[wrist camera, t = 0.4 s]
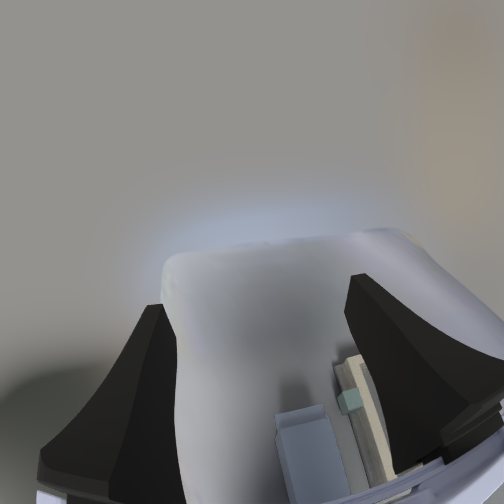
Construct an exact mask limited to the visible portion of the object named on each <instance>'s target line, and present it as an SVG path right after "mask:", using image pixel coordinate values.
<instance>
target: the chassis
mask: <svg viewBox="0 0 504 504" xmlns="http://www.w3.org/2000/svg"><path fill="white" fill-rule="evenodd" d="M333 369H334V372H335V375H336V378H337V381H338V384H339V387H340V390H341V394H340V395H339V396H338V397H337V399H338V402H339V405H340V408H341V412H342V415H346V414H348V415H349V418H350V421H351V424H352V427H353V430H354V434H355V437H356V440H357V443H358V447H359V450H360V453H361V457H362V460H363V463H364V467H365V470H366V474H367V477H368V481H369V484H370V488H373V487H376V486H379V485H381V484H384V483H386V482H389V481H391V480H394V479H396V478H398V477H401V476H403V475H405V474H407V473H409V472H411V471H414V470H416V469H418V468H420V467H422V466H423V463H421V464H419V465H417V466H415V467H413V468H411V469H408V470H406V471H404V472H402V473H400V474H397V475H395V473H394V470H393V467H392V458H391V451H390V444H389V438H388V433H387V429H386V424H385V420H384V416H383V412H382V408H381V404H380V401H379V398H378V394H377V391H376V388H375V385H374V382H373V380H372V377H371V375H370V373H369V371H368V369H367V366H366V364H365V362H364V360H363V358H362V356H361V354H359V355H356V356H352V357H349V358H347V359H346V360H345V362H344V363H343V364H339V365H335V366H334V367H333Z"/></svg>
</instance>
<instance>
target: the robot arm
mask: <svg viewBox="0 0 504 504" xmlns="http://www.w3.org/2000/svg"><path fill="white" fill-rule="evenodd" d="M344 313H345V316H346V320H347V323H348V326H349V329H350V332H351V334H352V336H353V339H354V341H355V343H356V345H357V347H358V349H359V351H360V354H361V356H362V358H363V360H364V362H365V364H366V366H367V369H368V371H369V373H370V375H371V377H372V380H373V382H374V385H375V388H376V391H377V394H378V398H379V401H380V404H381V408H382V412H383V416H384V420H385V424H386V429H387V433H388V438H389V444H390V451H391V458H392V467H393V470H394V473H395V475H397V474H400V473H402V472H404V471H406V470H408V469H411V468H413V467H415V466H417V465H419V464H421V463H423V466H422V467H420V468H418V469H416V470H414V471H411V472H409V473H407V474H405V475H403V476H401V477H398V478H396V479H394V480H391V481H389V482H386V483H384V484H381V485H379V486H376V487H373V488H371V489H368V490H365V491H362V492H359V493H356V494H353V495H350V496H347V497H344V498H340V499H337V500H333V501H330V502H326V503H322V504H374V503H377V502H380V501H382V500H385V499H387V498H390V497H392V496H394V495H397V494H399V493H401V492H403V491H405V490H408V489H410V488H412V487H413V488H412V489H411V492H410V494H407V495H404V496H402V497H399V498H397V499H394V500H392V501H389V502H387V503H385V504H482V503H483V502H484V501H485V500H486V499H487V498H488V497H489V496H490V495H491V494H492V493H493V492H494V491H495V490H496V489H497V488H498V487H499V486H500V485H501V484H502V483H503V482H504V414H503V415H500V413H499V411H500V410H501V409H502V406H501V404H500V401H501V400H502V399H503V398H504V360H501V359H498V358H495V357H492V356H489V355H487V354H484V353H482V352H479V351H477V350H475V349H473V348H471V347H468V346H466V345H465V344H463V343H461V342H459V341H457V340H455V339H453V338H451V337H450V336H448V335H446V334H445V333H443V332H442V331H440V330H438V329H437V328H435V327H434V326H432V325H431V324H429V323H428V322H426V321H425V320H423V319H422V318H421V317H419V316H418V315H417V314H415V313H414V312H413V311H411V310H410V309H409V308H407V307H406V306H405V305H404V304H402V303H401V302H400V301H399V300H397V299H396V298H395V297H394V296H392V295H391V294H390V293H389V292H388V291H386V290H385V289H384V288H383V287H381V286H380V285H379V284H378V283H377V282H375V281H374V280H373V279H372V278H370V277H369V276H368V275H367V274H365V273H364V274H358V275H353V276H351V279H350V285H349V290H348V295H347V300H346V305H345V310H344ZM176 373H177V342H176V336H175V334H174V331H173V329H172V326H171V324H170V322H169V319H168V317H167V314H166V312H165V309H164V307H163V304H155V305H147V307H146V308H145V310H144V312H143V313H142V315H141V318H140V319H139V321H138V323H137V325H136V327H135V329H134V330H133V332H132V334H131V336H130V338H129V340H128V341H127V343H126V345H125V347H124V348H123V350H122V352H121V354H120V356H119V357H118V359H117V360H116V362H115V364H114V365H113V367H112V369H111V370H110V372H109V374H108V375H107V377H106V378H105V379H104V381H103V383H102V384H101V385H100V387H99V388H98V389H97V391H96V392H95V393H94V395H93V396H92V397H91V399H90V400H89V401H88V402H87V404H86V405H85V406H84V407H83V409H82V410H81V411H80V412H79V413H78V414H77V416H76V417H75V418H74V419H73V420H72V421H71V422H70V423H69V424H68V425H67V426H66V427H65V428H64V429H63V430H62V431H61V432H60V433H59V434H58V435H57V436H56V437H55V438H53V439H52V440H51V441H50V442H49V443H48V444H47V445H45V446H44V447H43V448H42V449H41V450H40V457H39V463H38V472H37V480H38V482H39V483H41V484H43V485H45V486H48V487H50V488H52V489H55V490H58V491H60V492H63V493H66V494H67V499H64V498H60V497H57V496H54V495H51V494H48V493H45V492H42V491H39V490H38V491H37V504H186V500H185V495H184V491H183V486H182V481H181V475H180V469H179V463H178V455H177V447H176V437H175V424H174V405H175V388H176Z"/></svg>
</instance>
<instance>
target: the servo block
mask: <svg viewBox="0 0 504 504" xmlns="http://www.w3.org/2000/svg"><path fill="white" fill-rule="evenodd" d="M274 418H275V423H276V427H277V431H278V433H277V435H276V437H275V442H276V446H277V450H278V455H279V459H280V463H281V468H282V472H283V476H284V480H285V485H286V489H287V493H288V497H289V501H290V504H322V503H326V502H330V501H333V500H337V499H340V498H344V497H347V496H348V495H349V494H351V492H350V488H349V484H348V481H347V477H346V474H345V470H344V466H343V463H342V459H341V456H340V452H339V449H338V445H337V442H336V438H335V435H334V432H333V428H332V425H331V421H330V418H329V417H327V418H326V416H325V412H324V409H323V406H322V404H319V405H315V406H311V407H307V408H302V409H298V410H294V411H289V412H284V413H279V414H275V415H274Z"/></svg>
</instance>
